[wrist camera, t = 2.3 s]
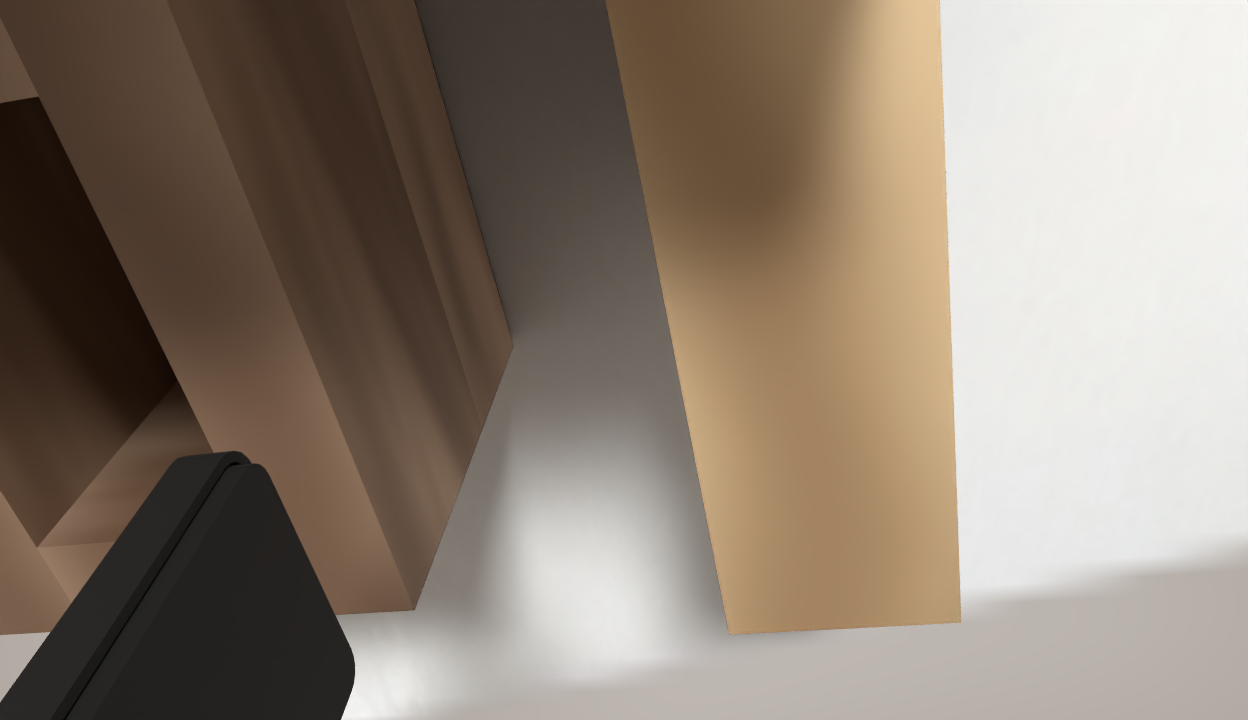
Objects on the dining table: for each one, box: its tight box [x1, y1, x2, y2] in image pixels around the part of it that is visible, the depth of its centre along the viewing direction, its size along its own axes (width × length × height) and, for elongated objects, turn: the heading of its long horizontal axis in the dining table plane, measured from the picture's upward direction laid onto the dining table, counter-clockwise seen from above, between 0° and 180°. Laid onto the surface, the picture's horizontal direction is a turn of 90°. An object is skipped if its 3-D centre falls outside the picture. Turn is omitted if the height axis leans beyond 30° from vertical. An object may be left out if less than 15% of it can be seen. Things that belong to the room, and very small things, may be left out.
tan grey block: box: [605, 0, 961, 635], centre depth 18 cm, size 4×12×10 cm, turn 11°
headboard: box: [0, 0, 513, 635], centre depth 16 cm, size 20×15×16 cm
